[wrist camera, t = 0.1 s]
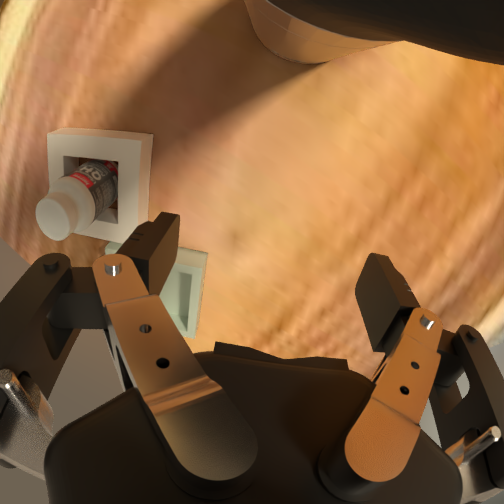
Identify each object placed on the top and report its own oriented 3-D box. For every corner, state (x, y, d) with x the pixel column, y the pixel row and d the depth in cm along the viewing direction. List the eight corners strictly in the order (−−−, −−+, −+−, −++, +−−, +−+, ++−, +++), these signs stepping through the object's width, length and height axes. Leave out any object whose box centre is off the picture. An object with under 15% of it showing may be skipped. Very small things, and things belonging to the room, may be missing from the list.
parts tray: (116, 234, 33) (104, 247, 30) (207, 252, 33) (202, 268, 31) (121, 303, 38) (113, 318, 36) (199, 322, 39) (194, 338, 36)
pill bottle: (122, 153, 28) (69, 189, 19) (128, 202, 30) (83, 250, 22) (80, 157, 28) (23, 192, 19) (87, 202, 31) (38, 247, 22)
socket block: (63, 127, 26) (47, 133, 23) (153, 134, 26) (141, 140, 24) (67, 216, 32) (54, 228, 29) (147, 232, 32) (137, 246, 30)
